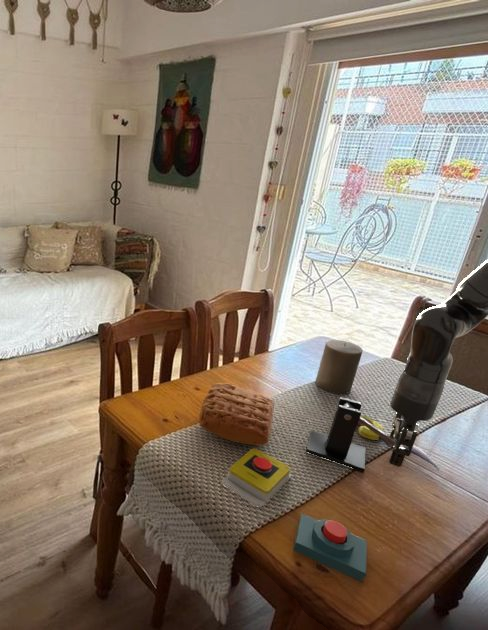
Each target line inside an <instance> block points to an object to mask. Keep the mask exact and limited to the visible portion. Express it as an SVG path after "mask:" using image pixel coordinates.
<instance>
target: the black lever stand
mask: <svg viewBox="0 0 488 630" xmlns="http://www.w3.org/2000/svg"><path fill="white" fill-rule="evenodd" d="M346 402H348V403H349V404H350V405H352V406H353V407H355V408H356V409H358V410H356V409H352V408H349V407H345V406H343V405H344V404H345V403H346ZM362 406H363V403H362V402H361V401H356V400H353V399H350V398H347V397H342V396H340V397H339V400H338V403H337V407H336V410H335V411H336V413H335V412H334V416H333V419H332V422H331V426H330V428H329V431H328V434H326V433H321V432H319V431H316V430H312V429H311V430H310V432H309V436H308V440H309V441H307V445H306V450H305V453H306V452H309V453H311V454H314V455H317V456H319V457H323V458H326V459H329V460H331V461H335V462H337V463H340V464H344V465H346V466H349V467H352V468H353V469H352V471H356V472H359V473H361V474H364V473H365V469H366V447H364V446H361V445H358V444H356V443H352V442H353V440H354V436H355V433H356V430H357V428H358V427H357V424H358V422H359V419H360V416H361V415H362V411H361V408H362ZM319 457H318V458H319Z"/></svg>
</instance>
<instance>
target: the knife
mask: <svg viewBox="0 0 488 630" xmlns="http://www.w3.org/2000/svg"><path fill="white" fill-rule="evenodd" d="M335 413H336V410H334V414H335ZM361 417H363V418H364V419H365V420H367V421H368V422H370V423H371V424H373V425H374V426H376V427H377V428H378V429H380V430H381V431H383V432H384V428H383V426H382V425H381V424H380V423H379V422H377V421H376V420H374V419H372V418H370V417H368V416H366V415H362V414H361ZM356 428H358V429H357V430H358V433H359V435H360V436H361V437H363V438H365V439H369V440H373V441H375V440H376V441H381V442H383V443H384V444H385V445H386V446H387V447H388V448H393V445H391V444H390V443H388V442H387V441H386V440H384V439H383V438H381V437H380V436H378V435H377V434H375V433H374V432H373V431H371V430H370V429H368V428H367V427H365V426H364V425H363V424H361V423H360V422H358V424H357V427H356ZM402 446H403V447H404V448H405V447H406V446H405V445H402ZM410 454H412V455H414V456H416V457H418V458H420V459H422V461H423V460H424V461H426V462H427V463H429V464H430V465H432V466H433V467H434V468H435V469H436V470H437V472H440V467H439V465H438V464H437V463H436V462H435V460H434V459H433V458H432V457H431V456H430V455H429V454H428V453H427V452H425V451H424V450H423V449H420V448H419V447H418V446H417V445H415V444H414V445H413V447H412V450H411V452H410Z"/></svg>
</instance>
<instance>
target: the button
mask: <svg viewBox="0 0 488 630" xmlns="http://www.w3.org/2000/svg"><path fill="white" fill-rule="evenodd" d="M345 528H346V527H345V526H344V525H342V524H341V523H339V522H337V521H334V520H331V521H327V522H326V523H325V525H324V528H323V535H324V536H325V537H326V538H327V539H328V540H329V541H331V542H333V543H336V544H342V543H344V542H345V539H346V537H347V530H348V529H347V528H346V529H347V530H346V529H345Z"/></svg>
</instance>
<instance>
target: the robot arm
mask: <svg viewBox="0 0 488 630" xmlns="http://www.w3.org/2000/svg"><path fill="white" fill-rule="evenodd" d="M487 317H488V259H487V260H485V261H484V262H483V263H481V264H480V266H478V267H477V268H476V269H475V270H473V271H472V272H471V273H470V274H469V275H467V277H465V278H463V280H462V281H461V282H460V283H459V284H458V286H457V288H456V291H455V292H454V293H453V294H452V295H450V296H449V297H448V298H447V299H446V300H445V301H444V302H441V304H439V305H436V306H432V307H429V308H427V309H425V310H423V311H422V312H421V313H419V315H418V316H417V318H416V320H415V322H414V323H413V327H412V332H411V341H410V352H409V355H408V357H407V360H406V362H405V366H404V369H403V371H402V372H401V374H400V376H399V378H398V381H397V383H396V385H395V389H394V392H393V395H392V396H391V400H390V403H389V405H390V407H391V409H392V410H393V411H394V412H395V413H394V415H393V418H392V424H391V431H390V434H389V436H390V437H391V438H393V439H395V444H394V446H392V452H391V454H390V457H389V459H388V463H389V464H390V465H392V466H396V467H398V468H400V467H402V465H403V462H404V460H405V458H406V457H410V456H411V453H410V452H411V450H412V447H413V445H415V443H416V442H415V441H416V438H417V437H418V436H419V435H418V431H419V428H420V425H419V423H418V422H425V421H426V422H427V421H430V420H432V418H433V417H434V415H435V412H436V410H437V408H438V404H439V402H440V400H441V397H442V396H443V395H442V394H443V392H444V389H445V384H446V381H447V378H448V376H449V373H450V372H451V368H452V366H453V362H454V358H453V355H452V354H451V349H452V346H453V344H454V342H455V339H458V338H460V337H463V336H465V335H466V334H468V333H469V332H471V331H472V330H473V329H475V328H476V327H477V326H479V325H480V324H481V323H482V322H483V321H484V320H485V319H486V318H487ZM400 445H405V446H406V447H405V448H404V447H400Z"/></svg>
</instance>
